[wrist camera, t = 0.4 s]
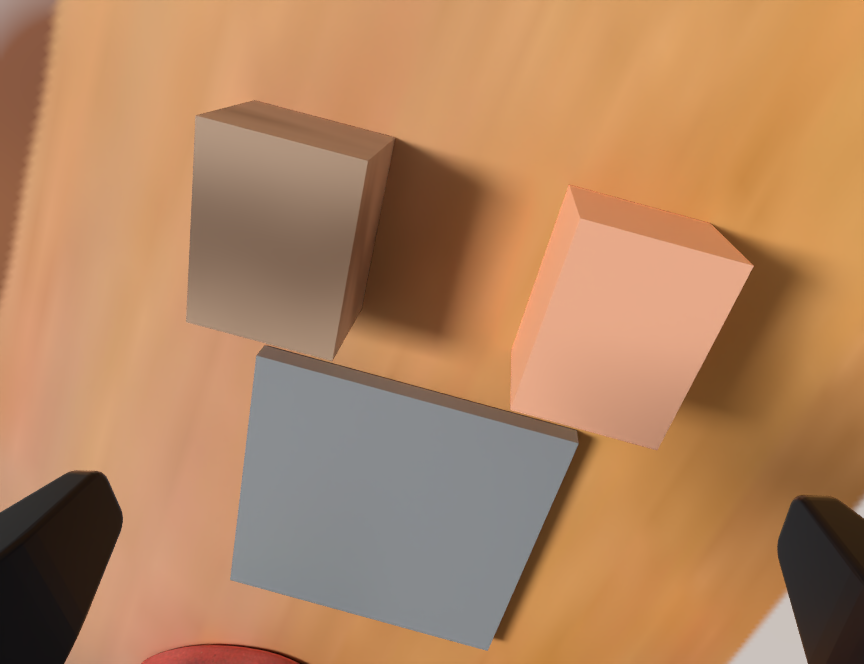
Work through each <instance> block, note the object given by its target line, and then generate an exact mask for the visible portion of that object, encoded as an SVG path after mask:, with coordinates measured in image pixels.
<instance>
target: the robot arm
mask: <svg viewBox="0 0 864 664" xmlns="http://www.w3.org/2000/svg"><path fill="white" fill-rule="evenodd" d="M122 523H123V515H122V511H121V508H120V506H119V504H118V501H117V499H116V497H115V495H114V492H113V490H112V488H111V486H110V483H109V481H108V479H107V477H106V476H105V475H104V474H103V473H102V472H98V471H78V470H76V471H71V472H68V473H66V474H64V475H62V476H61V477H59V478H57V479H56V480H54V481H52V482H51V483H49V484H47V485H46V486H44V487H42V488H41V489H39V490H37V491H36V492H34V493H32V494H31V495H29V496H27V497H25V498H24V499H22V500H20V501H19V502H17V503H15V504H14V505H12V506H10V507H9V508H7V509H5V510H4V511H2V512H0V664H64V663H65V661H66V659H67V657H68V655H69V653H70V651H71V649H72V647H73V645H74V643H75V641H76V639H77V637H78V635H79V632H80V630H81V628H82V625H83V623H84V621H85V619H86V616H87V614H88V611H89V609H90V606H91V604H92V601H93V599H94V596H95V594H96V591H97V589H98V586H99V584H100V581H101V579H102V576H103V574H104V571H105V569H106V566H107V564H108V561H109V559H110V557H111V554H112V552H113V549H114V547H115V544H116V542H117V539H118V537H119V534H120V532H121V528H122ZM777 550H778V558H779V563H780V566H781V570H782V573H783V577H784V580H785V584H786V587H787V591H788V595H789V598H790V602H791V605H792V609H793V612H794V616H795V619H796V623H797V627H798V630H799V634H800V637H801V641H802V644H803V648H804V651H805V655H806V658H807V662H808V664H864V518H862V517H861V516H860V515H858V514H857V513H856V512H854V511H853V510H852V509H850V508H849V507H848V506H846V505H845V504H844V503H842V502H841V501H839V500H838V499H836V498H834V497H830V496H812V495H800V496H797V497H796V498H795V499H794V500H793V501H792V503H791V505H790V508H789V511H788V513H787V516H786V519H785V522H784V525H783V528H782V530H781V533H780V536H779V539H778V546H777Z"/></svg>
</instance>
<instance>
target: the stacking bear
mask: <svg viewBox="0 0 864 664" xmlns="http://www.w3.org/2000/svg"><path fill="white" fill-rule="evenodd" d="M141 664H299V663H297V662H295V661H293V660H291V659H288V658H286V657H283V656H281V655H278V654H275V653H271V652H267V651H263V650H258V649H252V648H246V647H238V646H221V645H200V646H189V647H182V648H177V649H173V650H169V651H165V652H162V653H159V654H156V655H154V656H152V657H150V658H148V659H146V660H145V661H143V662H142V663H141Z"/></svg>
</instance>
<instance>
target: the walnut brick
mask: <svg viewBox="0 0 864 664" xmlns="http://www.w3.org/2000/svg"><path fill="white" fill-rule="evenodd" d="M394 142H395V137H392V136H388V135H384V134H381V133H377V132H373V131H369V130H365V129H362V128H358V127H354V126H350V125H346V124H343V123H339V122H335V121H331V120H327V119H324V118H320V117H316V116H312V115H308V114H305V113H301V112H297V111H293V110H290V109H286V108H282V107H278V106H274V105H271V104H267V103H263V102H259V101H255V100H254V101H250V102H246V103H242V104H238V105H234V106H231V107H227V108H223V109H219V110H215V111H211V112H207V113H203V114H199V115H196V120H195V142H194V163H193V185H192V207H191V229H190V251H189V273H188V295H187V316H186V322H188V323H192V324H195V325H199V326H203V327H207V328H210V329H214V330H218V331H222V332H225V333H229V334H233V335H237V336H240V337H244V338H248V339H251V340H255V341H259V342H263V343H266V344H270V345H274V346H278V347H281V348H285V349H289V350H293V351H296V352H300V353H304V354H308V355H311V356H315V357H319V358H323V359H326V360H330V361H333V359H334V357H335V355H336V354H337V352H338V350H339V348H340V346H341V345H342V343H343V341H344V339H345V338H346V336H347V334H348V332H349V330H350V329H351V327H352V325H353V323H354V322H355V320H356V318H357V316H358V314H359V313H360V311H361V309H362V305H363V300H364V295H365V290H366V285H367V280H368V275H369V269H370V264H371V259H372V254H373V249H374V244H375V239H376V234H377V229H378V223H379V218H380V213H381V208H382V203H383V198H384V193H385V188H386V183H387V178H388V172H389V167H390V162H391V157H392V152H393V147H394Z"/></svg>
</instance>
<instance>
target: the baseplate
mask: <svg viewBox="0 0 864 664" xmlns="http://www.w3.org/2000/svg"><path fill="white" fill-rule="evenodd" d="M578 444H579V442H578V435H577V430H573V429H570V428H566V427H562V426H559V425H555V424H551V423H548V422H544V421H540V420H537V419H533V418H529V417H526V416H522V415H518V414H515V413H511V412H507V411H504V410H500V409H496V408H493V407H489V406H485V405H482V404H478V403H474V402H471V401H467V400H463V399H460V398H456V397H452V396H449V395H445V394H441V393H438V392H434V391H430V390H427V389H423V388H419V387H416V386H412V385H408V384H405V383H401V382H397V381H394V380H390V379H386V378H383V377H379V376H375V375H372V374H368V373H364V372H361V371H357V370H353V369H350V368H346V367H342V366H339V365H335V364H331V363H328V362H324V361H320V360H317V359H313V358H309V357H306V356H302V355H298V354H295V353H291V352H287V351H284V350H280V349H276V348H273V347H269V346H264V347H263V348H262V349H261V351H260V352H259V353H258V354H257V356H256V364H255V373H254V381H253V390H252V399H251V407H250V416H249V424H248V433H247V441H246V450H245V458H244V467H243V476H242V484H241V493H240V501H239V510H238V518H237V527H236V535H235V544H234V552H233V561H232V570H231V578H230V580H232V581H236V582H240V583H243V584H247V585H250V586H254V587H258V588H261V589H265V590H269V591H272V592H276V593H279V594H283V595H287V596H290V597H294V598H298V599H301V600H305V601H309V602H312V603H316V604H319V605H323V606H327V607H330V608H334V609H338V610H341V611H345V612H348V613H352V614H356V615H359V616H363V617H367V618H370V619H374V620H378V621H381V622H385V623H388V624H392V625H396V626H399V627H403V628H407V629H410V630H414V631H418V632H421V633H425V634H428V635H432V636H436V637H439V638H443V639H447V640H450V641H454V642H457V643H461V644H465V645H468V646H472V647H476V648H479V649H483V650H487V651H488V649H489V647H490V644H491V642H492V640H493V637H494V635H495V633H496V631H497V628H498V626H499V624H500V621H501V619H502V617H503V615H504V612H505V610H506V608H507V606H508V603H509V601H510V599H511V596H512V594H513V592H514V590H515V587H516V585H517V583H518V581H519V578H520V576H521V574H522V571H523V569H524V567H525V565H526V562H527V560H528V558H529V555H530V553H531V551H532V549H533V546H534V544H535V542H536V540H537V537H538V535H539V533H540V530H541V528H542V526H543V524H544V521H545V519H546V517H547V515H548V512H549V510H550V508H551V505H552V503H553V501H554V499H555V496H556V494H557V492H558V489H559V487H560V485H561V483H562V480H563V478H564V476H565V474H566V471H567V469H568V467H569V464H570V462H571V460H572V458H573V455H574V453H575V451H576V449H577V446H578Z"/></svg>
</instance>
